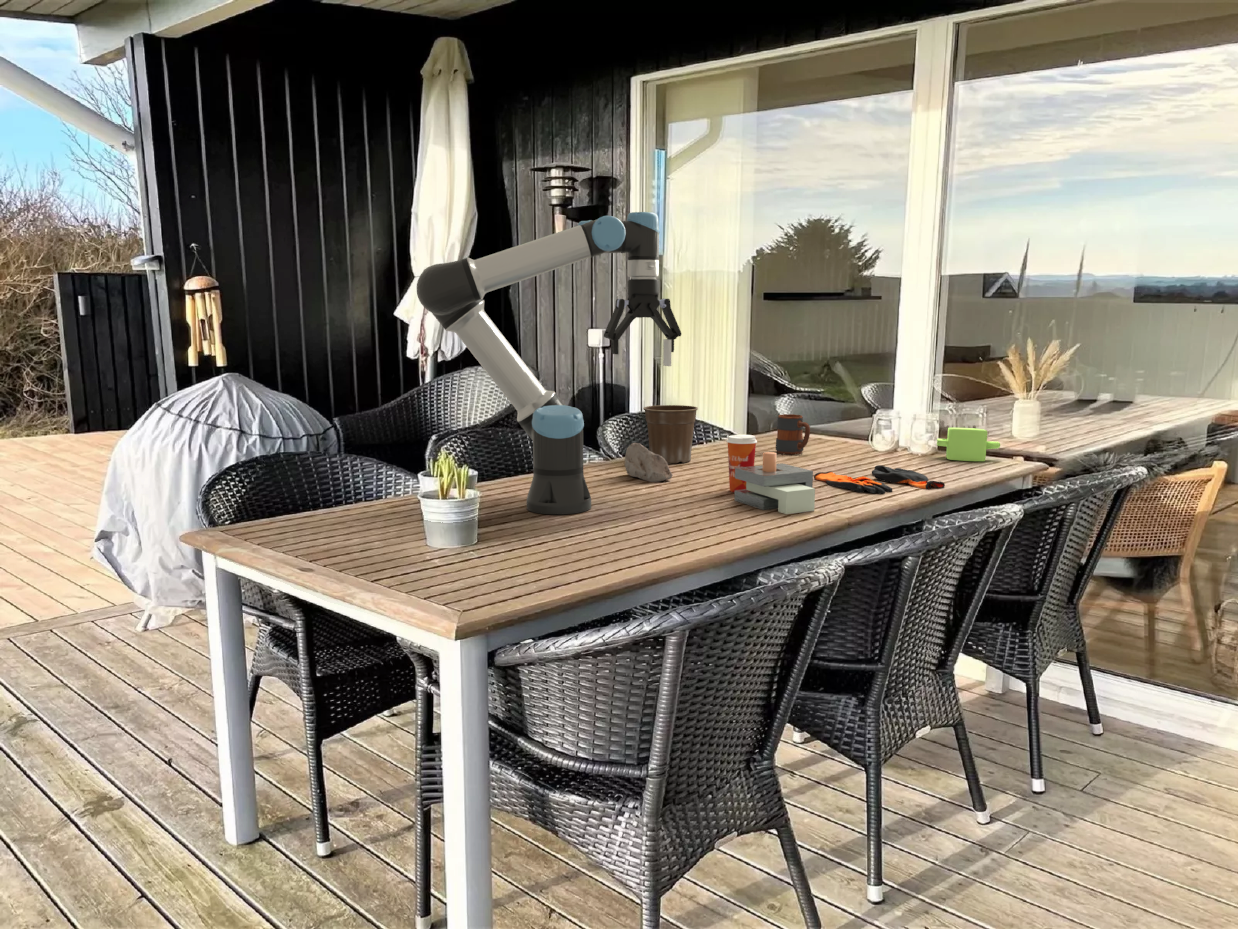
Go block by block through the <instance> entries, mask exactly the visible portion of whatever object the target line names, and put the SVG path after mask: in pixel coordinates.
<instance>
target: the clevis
mask: <svg viewBox="0 0 1238 929" xmlns="http://www.w3.org/2000/svg"><path fill="white" fill-rule="evenodd" d="M735 478H736V479H739V480H743V481H746V482H749V483H753V484H756V485H760V486H763V487H766V486H775V485H784V484H793V483H797V484H800V485H804V486H808V487H811V488H814V486H813V484H814V483H813V482H814V481H813V480H814V471H813V470H810V469H806V468H802V467H798V466H794V465H791V464H786V463H776V471H774V472H766V471H763V464H762V465H761V464H760V465H754V466H750V467H740V468H735ZM733 499H734V501H735V502H738V503H741V504H744V505H746V506H750V507H752V508H753V507H754V508H756V509H759V510H762V511H767V510H775V509H778V499H774V498H771V497H768V496H765V495H761V494H758V493H755V492H752V491H748V490H746V489H743V490H735V493H734V498H733Z"/></svg>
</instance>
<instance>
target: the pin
mask: <svg viewBox="0 0 1238 929" xmlns="http://www.w3.org/2000/svg"><path fill="white" fill-rule="evenodd" d="M776 464H777V452H773V451H772V452H771V451H767V452H766V451H765V452H763V453H762V465H763V471H766V472H774V471H776Z"/></svg>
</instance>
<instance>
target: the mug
mask: <svg viewBox="0 0 1238 929" xmlns="http://www.w3.org/2000/svg"><path fill="white" fill-rule="evenodd" d="M776 423H777V424H776V429H777V434H776V440H775V451H776V453H778V454H781V455H793V456H794V455H801V454H803V451H804V448H805V447H806V446H807V444H808V443H809V440H810V435H811V426H810V425H809V423H807V422H804V417H803V415H801V414H791V413H790V414H789V413H787V414H786V413H785V414H783V413H782V414H779V415H778V416H777V422H776ZM804 428H805V429H804ZM803 429H804V430H805V431H804V433H803ZM803 434H804V436H803Z"/></svg>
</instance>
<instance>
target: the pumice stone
mask: <svg viewBox="0 0 1238 929" xmlns="http://www.w3.org/2000/svg"><path fill="white" fill-rule="evenodd" d="M624 467H625V470H626V474H627V475H628V476H631V477H633V478H638V479H641V480H644V481H648V482H652V483H659V482H663V481H665V480H666V481H667V480H671V479H672V478H673V472H672V471H671V469H670V467H669V464H668V463H667V462H666V460H665V459H664V458H663V457H662V456H660V455H658V454H654V453H653V452H650V449H648V447H646V446H644V445H642V444H641V442H640V443H639V442H632V443H631V444H630V445H629V446H628V447H627V448H626V449H625V456H624Z"/></svg>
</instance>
